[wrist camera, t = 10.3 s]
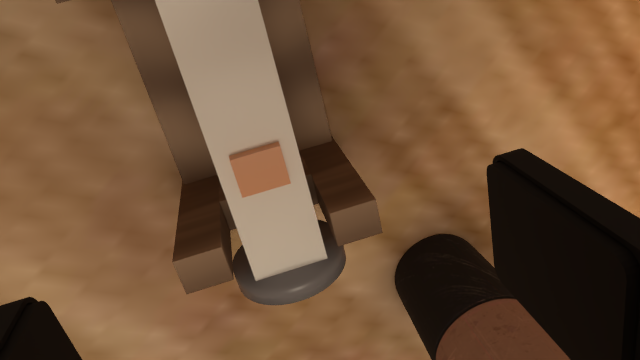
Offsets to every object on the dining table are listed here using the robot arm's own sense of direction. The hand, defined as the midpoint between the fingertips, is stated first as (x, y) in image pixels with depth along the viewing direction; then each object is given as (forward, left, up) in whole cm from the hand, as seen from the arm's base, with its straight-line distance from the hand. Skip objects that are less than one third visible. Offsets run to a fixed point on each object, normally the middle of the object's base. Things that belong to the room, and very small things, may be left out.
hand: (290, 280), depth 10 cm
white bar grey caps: (0, 0, -19) cm, 19 cm away
